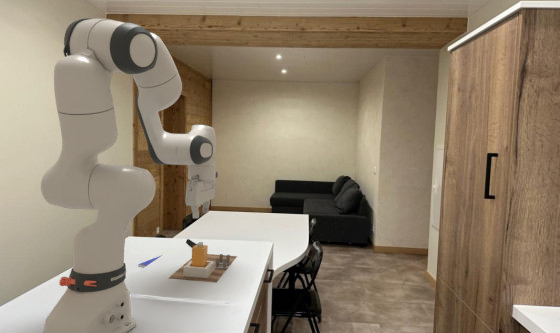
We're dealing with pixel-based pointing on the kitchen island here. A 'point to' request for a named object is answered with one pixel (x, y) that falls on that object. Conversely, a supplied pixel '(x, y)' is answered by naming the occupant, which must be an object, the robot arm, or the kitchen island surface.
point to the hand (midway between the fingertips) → (200, 215)
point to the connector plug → (199, 255)
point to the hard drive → (147, 262)
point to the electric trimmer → (190, 243)
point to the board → (220, 267)
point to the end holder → (199, 270)
